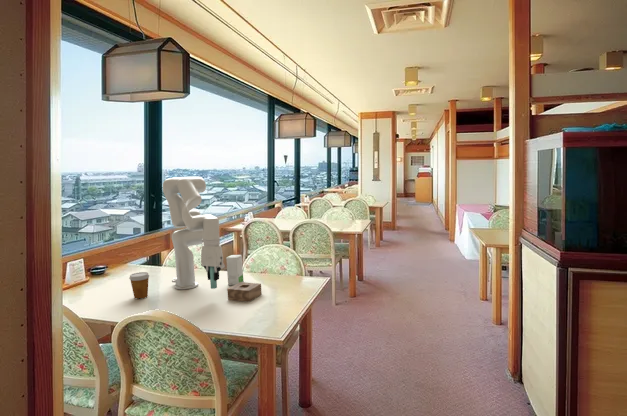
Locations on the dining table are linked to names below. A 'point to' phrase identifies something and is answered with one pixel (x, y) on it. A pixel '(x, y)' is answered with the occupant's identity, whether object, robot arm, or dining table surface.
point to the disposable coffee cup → (139, 284)
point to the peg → (212, 278)
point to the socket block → (244, 291)
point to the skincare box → (234, 269)
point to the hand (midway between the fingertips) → (213, 279)
